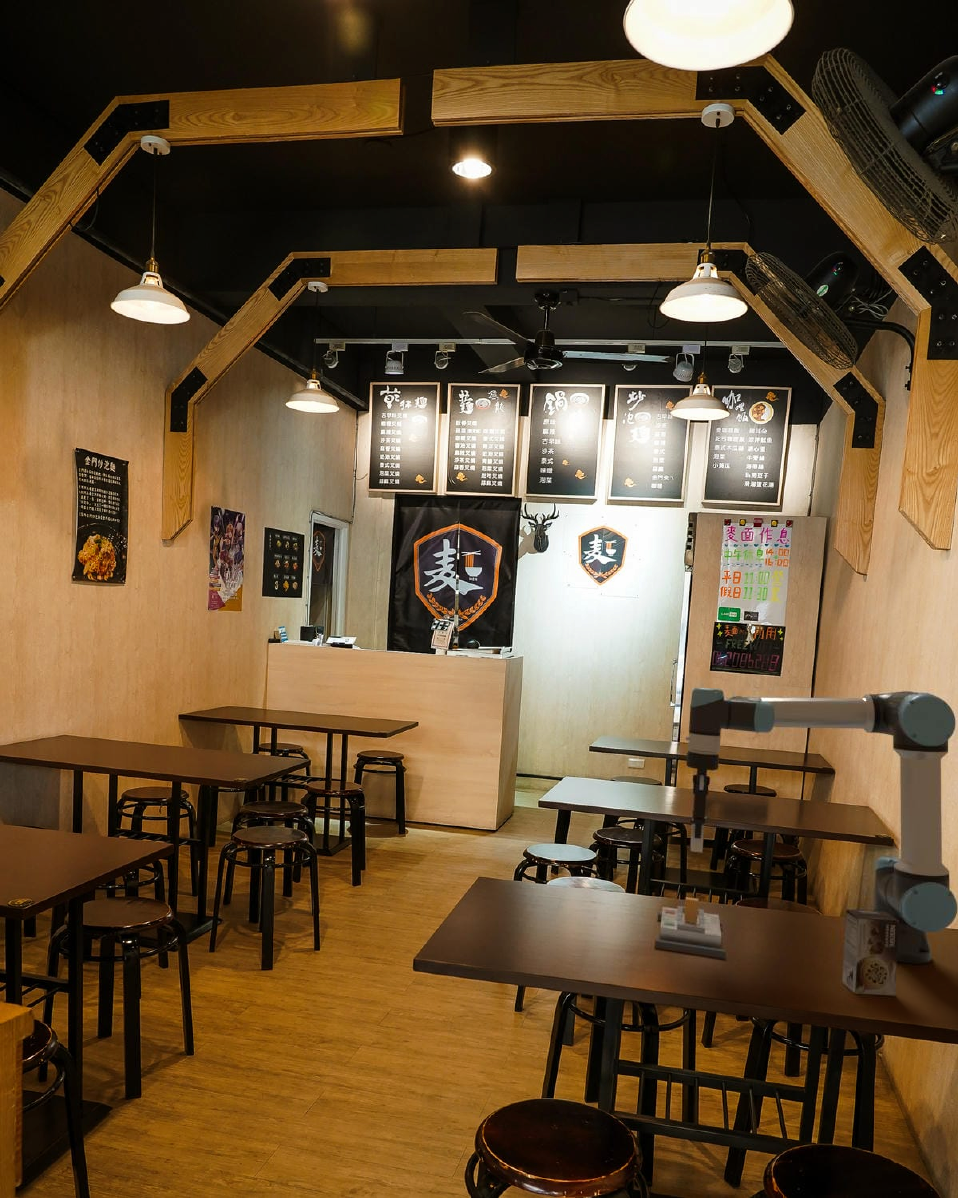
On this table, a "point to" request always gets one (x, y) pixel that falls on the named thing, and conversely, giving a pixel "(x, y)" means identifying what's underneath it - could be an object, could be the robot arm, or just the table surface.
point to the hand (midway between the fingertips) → (696, 849)
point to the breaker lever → (691, 909)
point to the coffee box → (870, 952)
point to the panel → (690, 928)
